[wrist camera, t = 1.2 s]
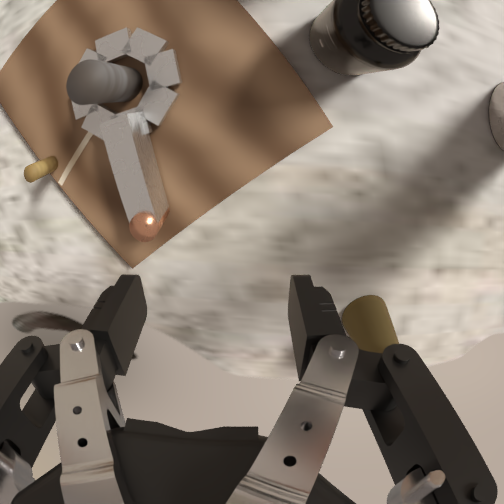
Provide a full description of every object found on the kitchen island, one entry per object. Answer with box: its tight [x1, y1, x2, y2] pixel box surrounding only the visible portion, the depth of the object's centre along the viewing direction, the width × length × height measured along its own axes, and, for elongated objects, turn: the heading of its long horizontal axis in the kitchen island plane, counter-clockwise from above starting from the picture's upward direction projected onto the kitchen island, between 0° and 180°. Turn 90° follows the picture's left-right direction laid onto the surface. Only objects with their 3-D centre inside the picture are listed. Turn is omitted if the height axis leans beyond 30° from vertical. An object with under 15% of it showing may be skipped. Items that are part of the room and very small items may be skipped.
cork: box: [342, 295, 399, 353], centre depth 31 cm, size 6×6×11 cm
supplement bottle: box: [309, 0, 439, 75], centre depth 16 cm, size 7×7×12 cm
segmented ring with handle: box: [71, 27, 182, 242], centre depth 21 cm, size 18×10×4 cm, turn 11°
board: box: [0, 0, 333, 269], centre depth 19 cm, size 24×28×9 cm
